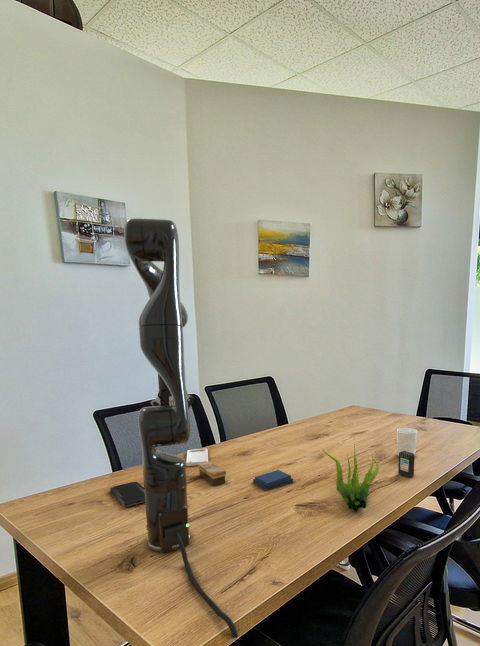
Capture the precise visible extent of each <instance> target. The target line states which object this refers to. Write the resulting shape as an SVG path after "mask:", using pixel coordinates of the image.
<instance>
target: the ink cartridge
mask: <svg viewBox="0 0 480 646" xmlns="http://www.w3.org/2000/svg"><path fill="white" fill-rule="evenodd" d="M415 457H416V453H415V454H413V453H411V452H407V451H401V452H399V456H398V467H397V469H398V471H397V473H398V475H401V476H404V477H406V478H412V477H413V476H414V475H415Z"/></svg>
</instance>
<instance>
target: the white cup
mask: <svg viewBox="0 0 480 646" xmlns="http://www.w3.org/2000/svg"><path fill="white" fill-rule="evenodd" d="M418 432H419V431H418V430H417V429H415V428H413V427H400V428H397V429H396V455H397V457H399V452H401V451H407V452H411V453H413V454H415V455H416V450H417V444H418V443H417V441H418Z"/></svg>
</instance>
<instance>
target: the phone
mask: <svg viewBox="0 0 480 646" xmlns="http://www.w3.org/2000/svg"><path fill="white" fill-rule="evenodd" d="M109 490H110V493H111V495H113V496H114V498H115V499H116V500H117V501H118V502H119V503H120V504H121V505H122V506H123V508H130V507H134V506H138V505H141V504H145V493H144V486H142V485H141V483H139V482H138V481H130V482H128V483H127V482H126V483H123V484H119V485H115V486H114V485H113V486H111V487H110V488H109Z"/></svg>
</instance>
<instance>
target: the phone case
mask: <svg viewBox="0 0 480 646" xmlns="http://www.w3.org/2000/svg"><path fill="white" fill-rule="evenodd" d="M208 454H209V451H208V448H207V447H206V448H205V447H204V448H194V449H188V450H187V451H186V460H185V464H186V467H195V466H198V464H200V463H205V462H209V455H208Z"/></svg>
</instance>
